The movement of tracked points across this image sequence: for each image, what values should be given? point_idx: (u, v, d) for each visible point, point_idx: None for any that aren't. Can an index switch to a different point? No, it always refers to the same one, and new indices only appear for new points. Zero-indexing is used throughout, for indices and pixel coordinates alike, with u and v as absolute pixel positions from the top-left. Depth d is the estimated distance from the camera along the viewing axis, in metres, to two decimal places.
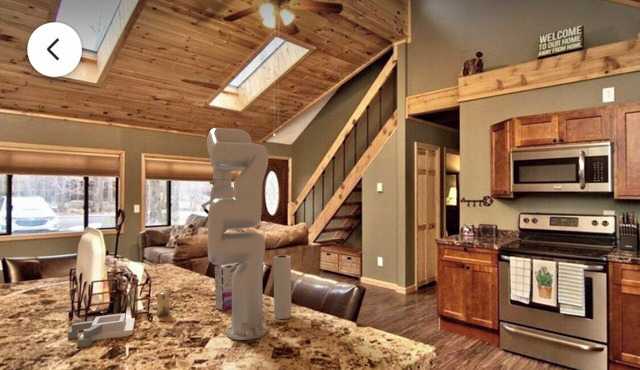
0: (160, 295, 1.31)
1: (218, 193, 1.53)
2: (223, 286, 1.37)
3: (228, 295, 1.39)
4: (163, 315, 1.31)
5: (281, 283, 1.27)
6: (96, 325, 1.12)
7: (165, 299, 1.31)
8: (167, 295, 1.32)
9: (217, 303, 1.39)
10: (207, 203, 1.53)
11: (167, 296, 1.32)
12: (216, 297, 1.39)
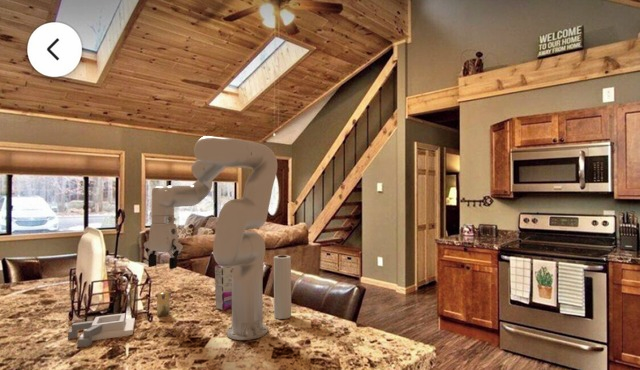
0: (160, 295, 1.31)
1: None
2: (223, 286, 1.37)
3: (228, 295, 1.39)
4: (163, 315, 1.31)
5: (281, 283, 1.27)
6: (96, 325, 1.12)
7: (165, 299, 1.31)
8: (167, 295, 1.32)
9: (217, 303, 1.39)
10: None
11: (167, 296, 1.32)
12: (216, 297, 1.39)
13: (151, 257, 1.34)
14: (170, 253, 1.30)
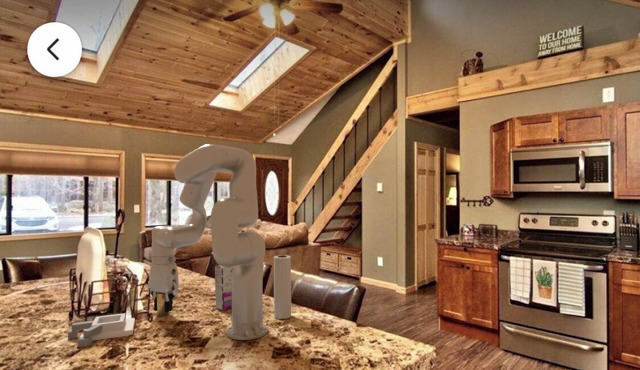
0: (160, 295, 1.31)
1: None
2: (223, 286, 1.37)
3: (228, 295, 1.39)
4: (163, 315, 1.31)
5: (281, 283, 1.27)
6: (96, 325, 1.12)
7: (165, 299, 1.31)
8: None
9: (217, 303, 1.39)
10: None
11: None
12: (216, 297, 1.39)
13: None
14: (166, 296, 1.30)
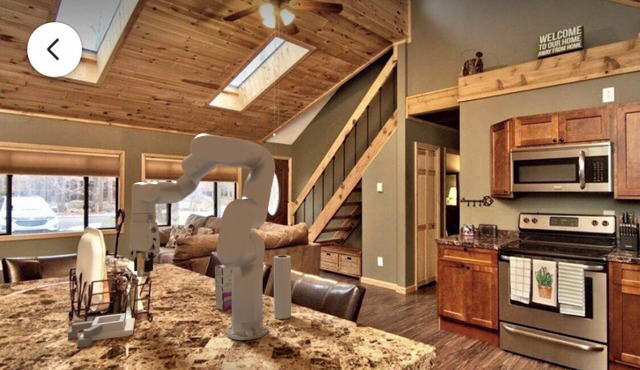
0: (140, 254, 1.25)
1: None
2: (223, 286, 1.37)
3: (228, 295, 1.39)
4: (143, 275, 1.25)
5: (281, 283, 1.27)
6: (96, 325, 1.12)
7: (145, 258, 1.26)
8: None
9: (217, 303, 1.39)
10: None
11: None
12: (216, 297, 1.39)
13: None
14: (146, 255, 1.25)
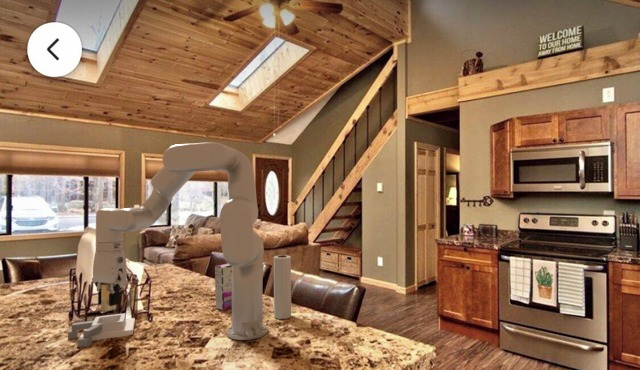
0: (104, 286, 1.15)
1: None
2: (223, 286, 1.37)
3: (228, 295, 1.39)
4: (108, 309, 1.15)
5: (281, 283, 1.27)
6: (96, 325, 1.12)
7: (110, 291, 1.16)
8: None
9: (217, 303, 1.39)
10: None
11: None
12: (216, 297, 1.39)
13: None
14: (111, 287, 1.15)
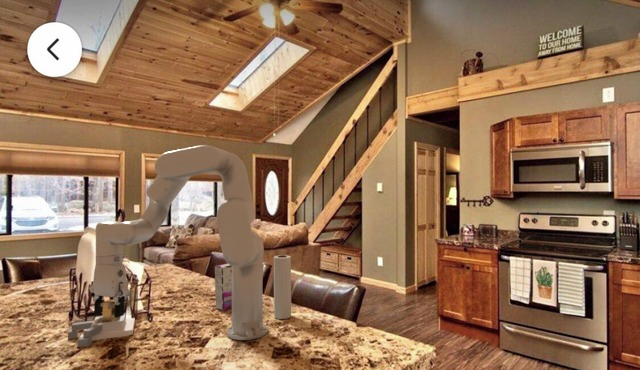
0: (106, 304, 1.15)
1: None
2: (223, 286, 1.37)
3: (228, 295, 1.39)
4: None
5: (281, 283, 1.27)
6: (96, 325, 1.12)
7: (112, 309, 1.16)
8: (114, 304, 1.16)
9: (217, 303, 1.39)
10: None
11: None
12: (216, 297, 1.39)
13: (97, 303, 1.18)
14: (115, 299, 1.14)
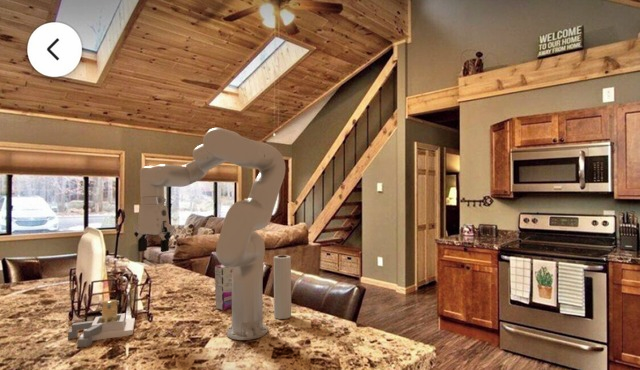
0: (105, 304, 1.15)
1: None
2: (223, 286, 1.37)
3: (228, 295, 1.39)
4: None
5: (281, 283, 1.27)
6: (96, 325, 1.12)
7: (111, 309, 1.16)
8: (114, 304, 1.17)
9: (217, 303, 1.39)
10: None
11: (114, 305, 1.17)
12: (216, 297, 1.39)
13: (141, 241, 1.28)
14: (161, 235, 1.24)
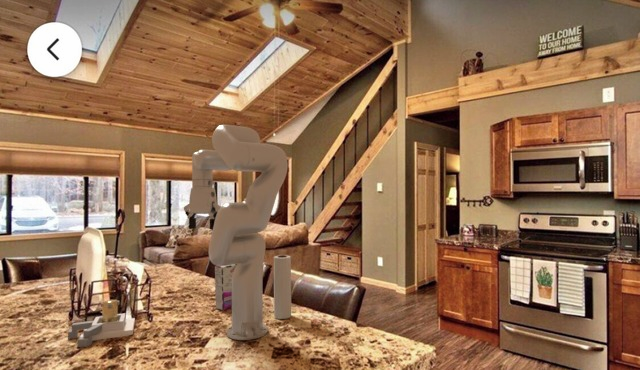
0: (106, 304, 1.15)
1: None
2: (223, 286, 1.37)
3: (228, 295, 1.39)
4: None
5: (281, 283, 1.27)
6: (96, 325, 1.12)
7: (112, 309, 1.16)
8: (114, 304, 1.17)
9: (217, 303, 1.39)
10: None
11: (114, 305, 1.17)
12: (216, 297, 1.39)
13: (191, 219, 1.42)
14: (210, 214, 1.38)
